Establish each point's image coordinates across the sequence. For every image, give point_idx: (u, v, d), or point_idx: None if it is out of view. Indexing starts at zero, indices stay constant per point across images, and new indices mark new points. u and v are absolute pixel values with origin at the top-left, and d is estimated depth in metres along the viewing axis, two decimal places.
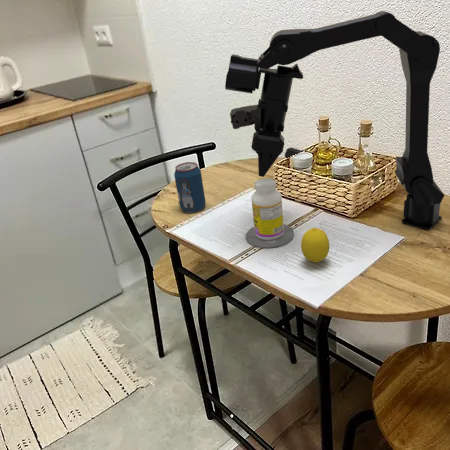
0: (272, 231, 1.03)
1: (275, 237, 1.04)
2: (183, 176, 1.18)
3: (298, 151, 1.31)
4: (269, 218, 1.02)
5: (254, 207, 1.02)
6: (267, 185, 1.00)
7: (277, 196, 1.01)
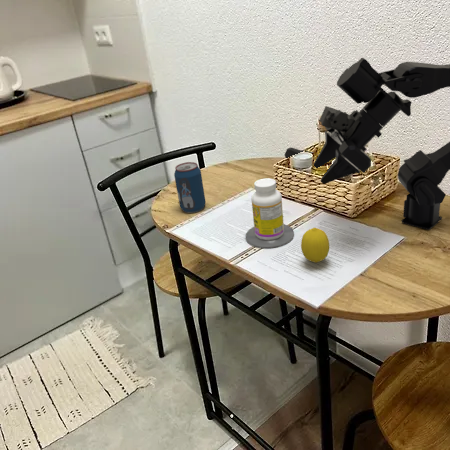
0: (272, 231, 1.03)
1: (275, 237, 1.04)
2: (183, 176, 1.18)
3: (298, 151, 1.31)
4: (269, 218, 1.02)
5: (254, 207, 1.02)
6: (267, 185, 1.00)
7: (277, 196, 1.01)
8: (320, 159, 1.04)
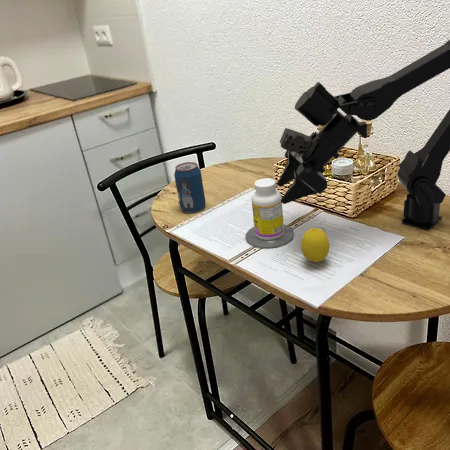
0: (272, 231, 1.03)
1: (275, 237, 1.04)
2: (183, 176, 1.18)
3: None
4: (269, 218, 1.02)
5: (254, 207, 1.02)
6: (267, 185, 1.00)
7: (277, 196, 1.01)
8: (283, 178, 1.06)
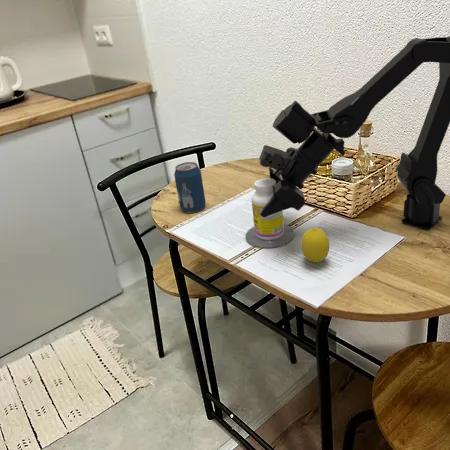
0: (272, 231, 1.03)
1: (275, 237, 1.04)
2: (183, 176, 1.18)
3: None
4: (269, 218, 1.02)
5: (254, 207, 1.02)
6: (267, 185, 1.00)
7: None
8: None
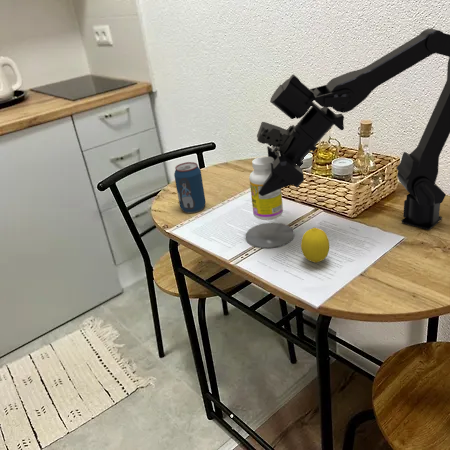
0: (271, 211, 1.01)
1: (274, 217, 1.02)
2: (183, 176, 1.18)
3: None
4: (267, 197, 0.99)
5: (252, 186, 1.00)
6: (265, 162, 0.98)
7: None
8: None
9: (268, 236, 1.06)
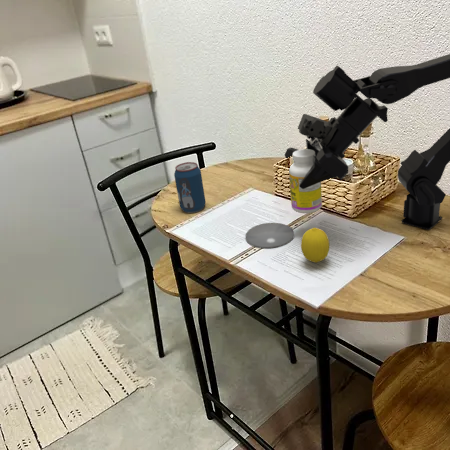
0: (311, 204, 1.00)
1: (313, 210, 1.01)
2: (183, 176, 1.18)
3: None
4: (308, 190, 0.99)
5: (292, 179, 0.99)
6: (307, 155, 0.97)
7: None
8: None
9: (268, 236, 1.06)
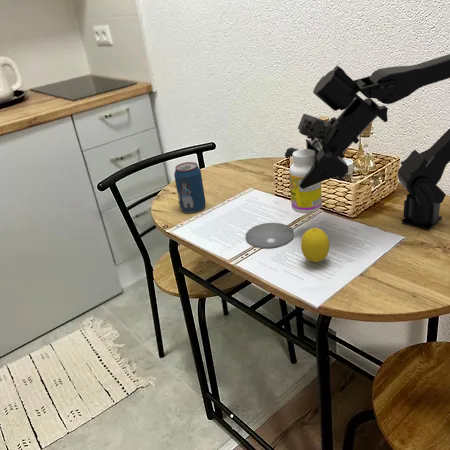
0: (311, 204, 1.00)
1: (313, 210, 1.01)
2: (183, 176, 1.18)
3: None
4: (308, 190, 0.99)
5: (292, 179, 0.99)
6: (307, 155, 0.97)
7: None
8: None
9: (268, 236, 1.06)
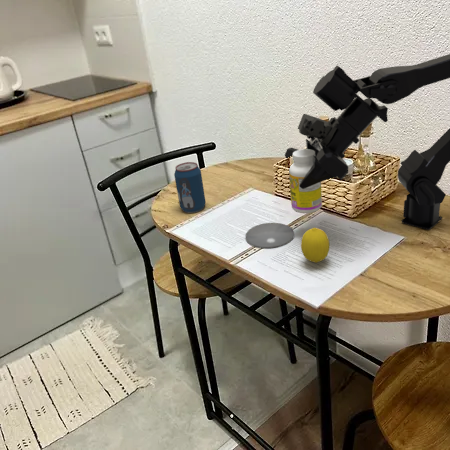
0: (311, 204, 1.00)
1: (313, 210, 1.01)
2: (183, 176, 1.18)
3: None
4: (308, 190, 0.99)
5: (292, 179, 0.99)
6: (307, 155, 0.97)
7: None
8: None
9: (268, 236, 1.06)
